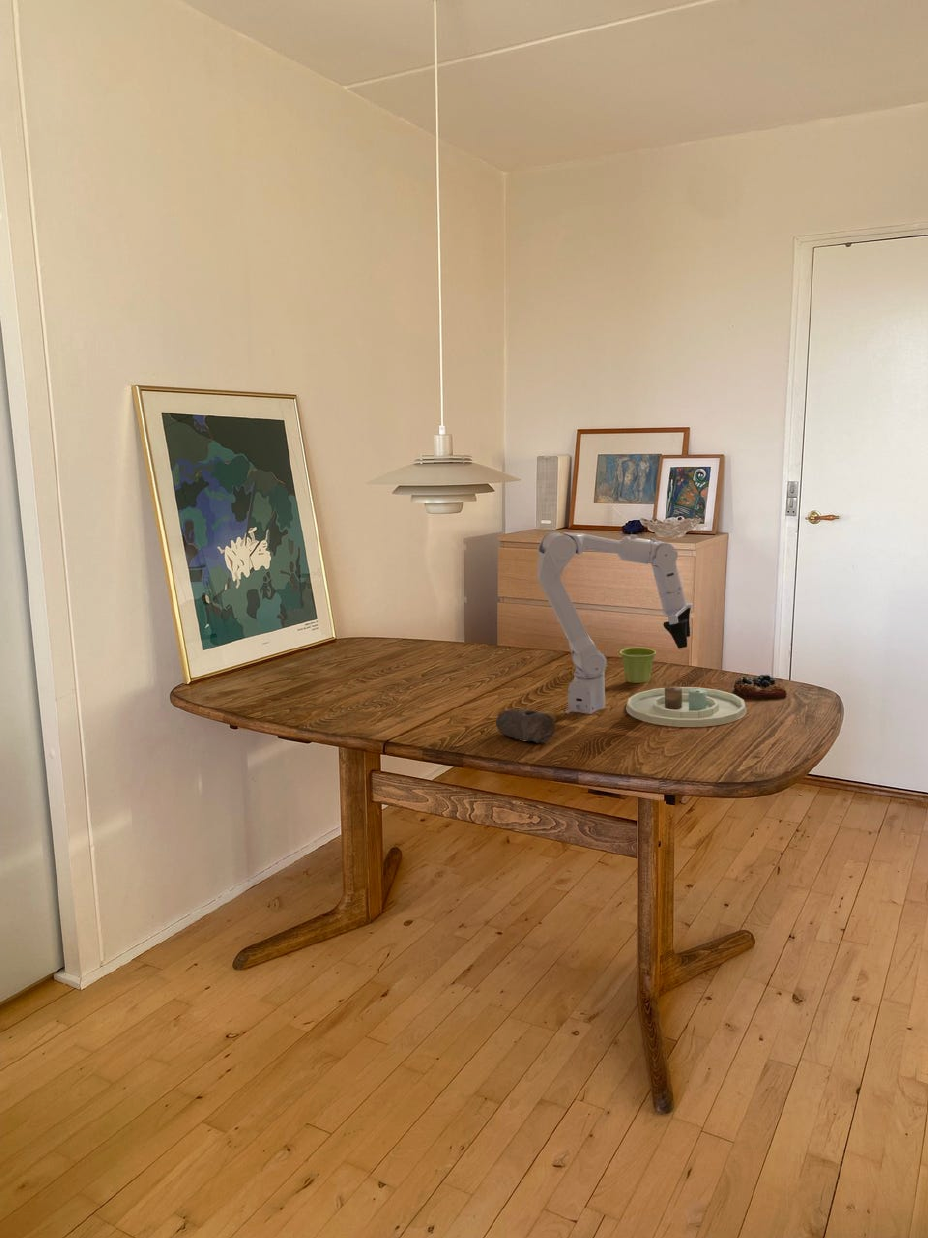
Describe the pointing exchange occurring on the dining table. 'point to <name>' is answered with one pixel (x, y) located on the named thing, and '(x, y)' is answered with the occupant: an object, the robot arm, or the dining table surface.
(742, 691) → the pastry
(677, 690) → the walnut bead
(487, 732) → the dining table surface
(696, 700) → the teal bead
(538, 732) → the perforated stone tool
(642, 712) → the groove tray
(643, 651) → the plant pot
